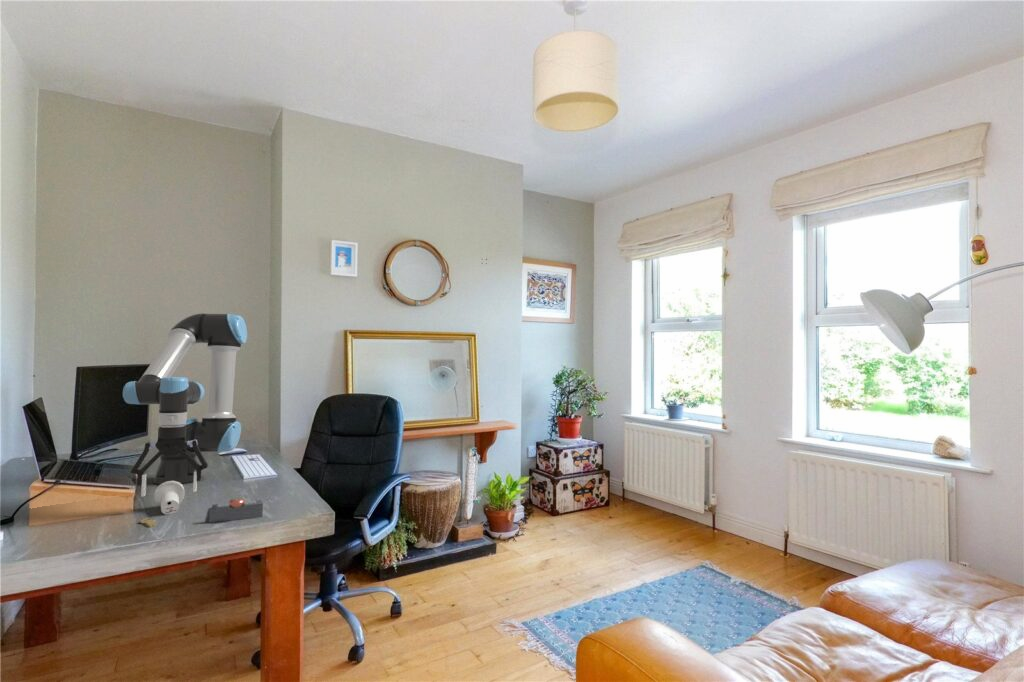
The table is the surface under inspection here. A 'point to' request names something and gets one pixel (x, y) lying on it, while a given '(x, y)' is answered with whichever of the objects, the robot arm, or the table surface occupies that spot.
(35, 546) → the table surface
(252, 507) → the channel
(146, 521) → the brass key
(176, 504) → the spotlight
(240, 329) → the robot arm
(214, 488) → the table surface
